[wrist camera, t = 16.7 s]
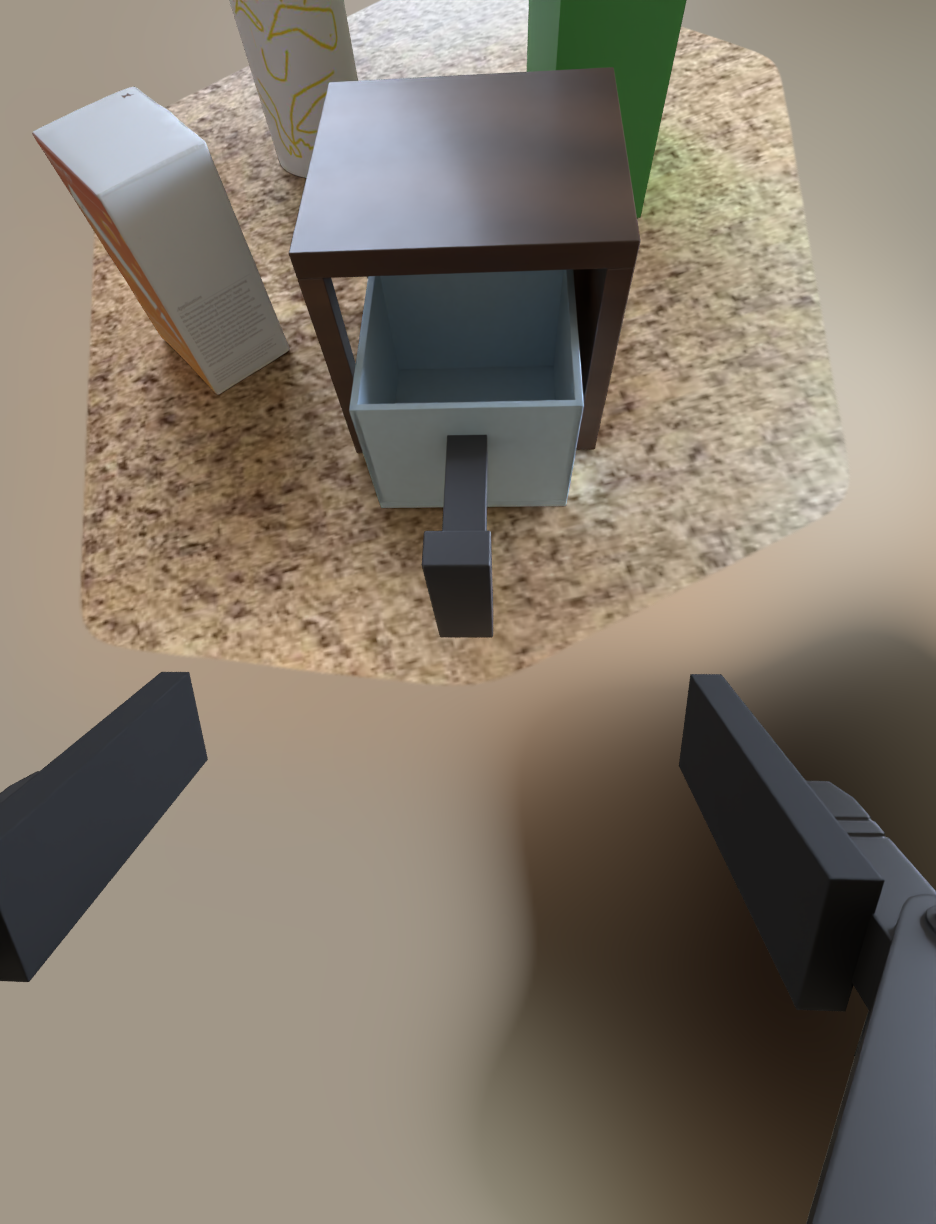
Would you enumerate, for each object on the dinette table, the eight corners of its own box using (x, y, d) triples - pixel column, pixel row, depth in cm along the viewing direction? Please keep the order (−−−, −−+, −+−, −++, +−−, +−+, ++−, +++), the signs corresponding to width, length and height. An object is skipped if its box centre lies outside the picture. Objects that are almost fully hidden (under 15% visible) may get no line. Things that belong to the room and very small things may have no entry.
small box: (160, 338, 42) (26, 129, 30) (234, 296, 44) (134, 80, 32) (216, 399, 39) (93, 193, 27) (293, 351, 41) (208, 137, 29)
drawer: (574, 655, 30) (604, 565, 21) (365, 654, 31) (311, 566, 22) (558, 368, 38) (575, 219, 30) (395, 372, 39) (364, 228, 30)
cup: (270, 179, 50) (206, -17, 39) (286, 126, 53) (231, -68, 42) (363, 176, 49) (325, -23, 38) (374, 123, 52) (341, -74, 42)
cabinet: (594, 449, 36) (640, 240, 24) (356, 453, 37) (288, 253, 25) (581, 296, 42) (613, 66, 30) (376, 302, 42) (328, 81, 31)
